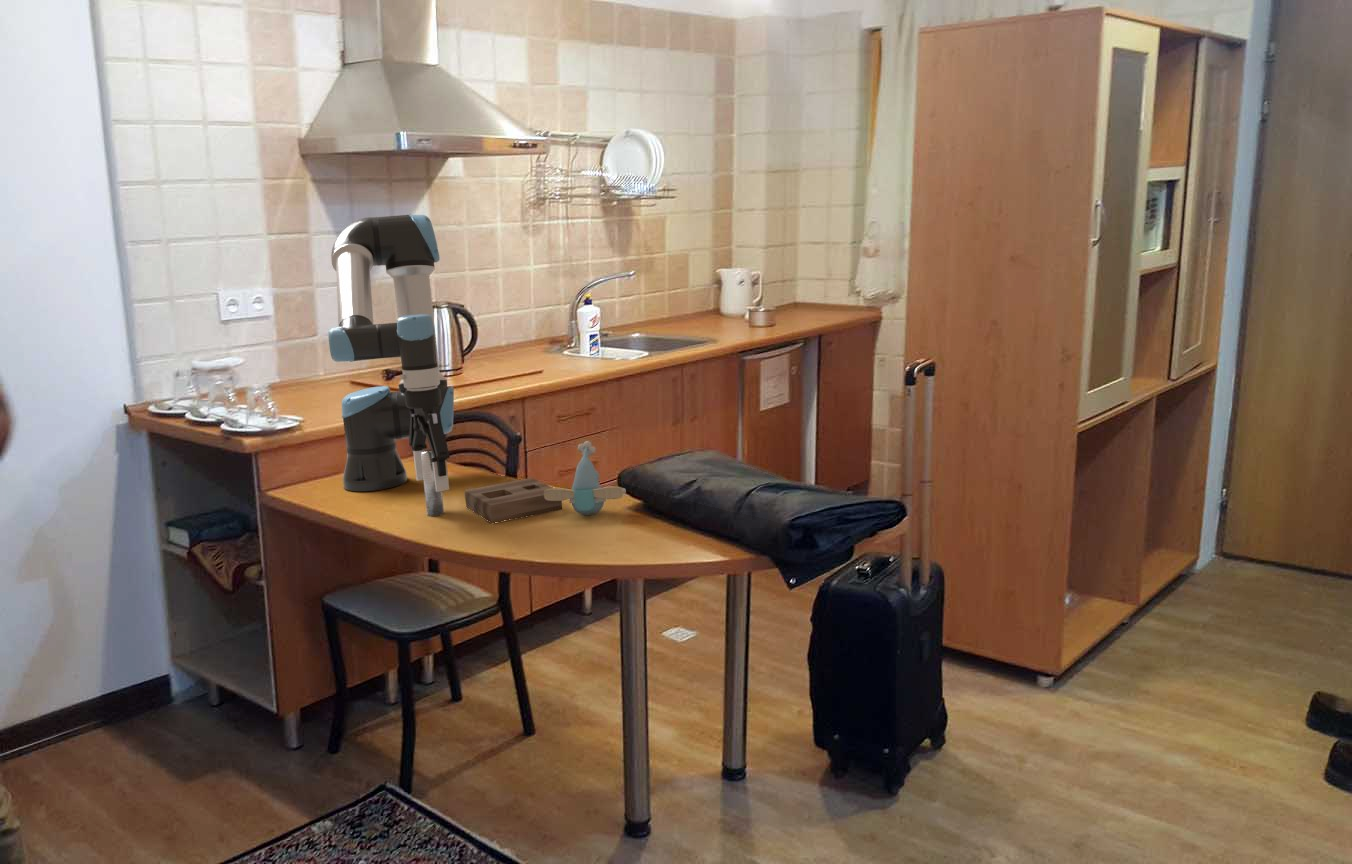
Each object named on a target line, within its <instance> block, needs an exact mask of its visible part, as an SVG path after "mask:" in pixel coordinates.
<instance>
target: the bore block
mask: <svg viewBox="0 0 1352 864" xmlns="http://www.w3.org/2000/svg"><path fill="white" fill-rule="evenodd" d="M551 488H553V486H550V485H549V484H547V483H544V482H542V481H539V480H538V479H536V478H534V477H529V478H523V479H517V480H512V481H507V482H501V483H497V484H491V485H486V486H481V487H475V488H469V489H465V490H464V498H465V508H466V507H467V508H468V509H467V508H466V509H467V510H469V509H470V510H469V511H471V510H472V511H474V512H475V513H477V514H478V515H477V514H476V515H477V516H479V515H480V516H482V517H483V518H482V517H481V518H482V519H484V518H485V519H486V521H487V520H488V521H487V522H489V521H490V522H491V523H490V522H489V523H490V524H492V523H494V524H496V523H495V522H499V523H502V522H501V521H504V520H509V519H514V520H516V519H515V518H519V519H522V518H521V517H524V518H527V517H526V516H528V517H532V516H531V515H533V516H537V515H542V514H546V513H547V514H548V513H553V512H558V511H562V510H563V500H562V501H548V500H546V499H545V498H544V491H545V490H546V489H551ZM472 511H471V512H472ZM474 512H473V513H474ZM475 513H474V514H475ZM480 516H479V517H480ZM485 519H484V520H485ZM509 521H510V520H509ZM504 522H505V521H504Z"/></svg>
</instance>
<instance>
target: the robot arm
mask: <svg viewBox="0 0 1352 864" xmlns="http://www.w3.org/2000/svg"><path fill="white" fill-rule="evenodd" d="M330 254H331V255H330V256H331V258H330V259H331V267H332V268H333V269H334V271H335V272H336V294H337V295H336V296H337V297H336V300H337V323H338V325H337V326H336V327H332V328H329V330H328V333H327V334H328V335H327V336H328V337H327V338H328V346H329V352H330V353H329V354H330V356H331V357H330V358H331V359H332V361H334V362H336V363H338V362H350V363H353V362H358V361H359V362H361V361H369V360H370V361H371V360H378V359H379V360H380V359H390V358H392V359H393V358H400V362H401V371H402V374H400V376H399V377H400V379H401V380H400V381H399V382H398V391H391V389H390V387H389V386H387V385H383V386H373V387H367V388H365V389H361V390H357V391H354V392H351V393H349V394H346V395H345V396H344V397H343V398H342V400H341V412H342V413H341V418H342V420H343V421H342V423H343V428H344V429H343V431H344V438H345V446H346V462H345V467H344V471H343V476H342V485H343V489H344V490H346V491H352V492H371V491H374V492H375V491H380V490H385V489H386V490H387V489H391V488H395V487H399V486H401V485H404V484H405V483H406V482H407V481H408V475H407V473H408V472H407V469H406V468H405V465H404V463H403V461H402V459H401V457H400V455H399V453H398V450H397V443H396V440H404V439H408V444H409V447H411V449H412V450H411V451H412V453H413V454H412V455H413V462H414V463H413V464H414V469H415V470H414V471H415V480H416V481H423V472H422V463H421V454H420V452H421V451H424V450H427V449H428V446H427V443H426V441H427V442H428V445H429V448H430V449H429V450H431V452H432V455H433V458H432V460H431V462H433V470H434V479H435V488H436V492H440V491H442V492H444V491H449V490H450V485H449V484H450V483H449V482H450V481H449V473H448V465H447V464H448V463H447V460H448V459H450V456H451V455H450V451H449V448H448V445H447V441H446V440H447V439H446V437H445V435H446V434H449V433H450V432H452V431H453V427H454V411H455V409H454V407H455V406H454V405H455V403H454V402H455V400H454V399H455V398H454V397H455V396H454V395H455V393H454V392H455V389H454V386H451V385H448V380H447V378H446V377H445V376H444V375H443V374H441V372H440V365H439V355H438V345H437V344H438V343H437V337H436V328H435V326H436V325H435V317H434V316H435V315H434V306H433V299H432V291H431V290H432V289H431V280H430V277H431V275H432V273H433V272H435V263H437V262H439V261H440V252H439V249H438V243H437V239H436V234H435V231H434V227H433V224H432V221H431V219H430V217H429V216H427V215H425V214H411V213H410V214H404V215H403V214H401V215H389V216H376V217H375V216H374V217H373V216H372V217H371V216H370V217H363V218H360V219H357V220H356V221H353V222H351V224H349V225H347V226H346V227H345V228H344V229H343V230H342V231H341V232H340V233H339V235H337V238H336V240H335V241H334V243H333V245H332V249H331V253H330ZM375 266H379V267H380V266H385V272H386V274H387V275H388V276H390V277H391V278H392V280H393V286H394V287H393V288H394V295H395V304H396V314H397V320H396V322H388V323H376V324H375V323H374V310H373V296H372V283H371V281H372V280H371V271H372V269H373V267H375Z"/></svg>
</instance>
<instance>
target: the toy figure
mask: <svg viewBox="0 0 1352 864" xmlns="http://www.w3.org/2000/svg"><path fill="white" fill-rule="evenodd" d="M596 449H597V448H596V447H595V446H594V445H592V442H591V441H589V440H586V441H584V443H578V445H577V451H578V452H581V455H582V457H581V459H580V460H579V462H578V463H577V466H576V468H575V474H574V478H573V483H572V486H571V489H568V488H563V487H552V488H551V489H546V490H545V491H544V498H545V499H546V500H548V501H562V502H563V501H566V500H569V504H571V506H572V508H573V510H574V511H575V512H576V513H578V514H580V515H585V516H588V515H595V514H597V513H598V512H599V511H601V510H602V508H603V507H604V504H605V502H607V500H609V501H610V500H618V499H619V500H620V499H622V498H623V497H624V495H625V494H626V493H627V490H626V488H624V487H621V486H616V485H615V486H611V485H608V486H604V487H602V486H601V484H600V482H599V479H600V473H599V472H598V471H597V470H596V468H595V466H594V463H593V462H592V461H591V459H590V458H589V457H590V456H592V454H595V453H596V451H597V450H596Z"/></svg>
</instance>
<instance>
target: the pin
mask: <svg viewBox="0 0 1352 864" xmlns="http://www.w3.org/2000/svg"><path fill="white" fill-rule="evenodd" d="M423 450H424V451H421V452H420V454H421V463H422V472H423V480H422V481H423V489H424V497H425V499H424V500H425V506H426V507H425V508H426V514H427V516H428V517H439V516H442V515H443V514H445V510H444V509H445V508H444V500H443V491H440V492H436V488H435V479H434V470H433V462H431V460H432V458H433V455H432V452H431V449H423Z"/></svg>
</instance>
